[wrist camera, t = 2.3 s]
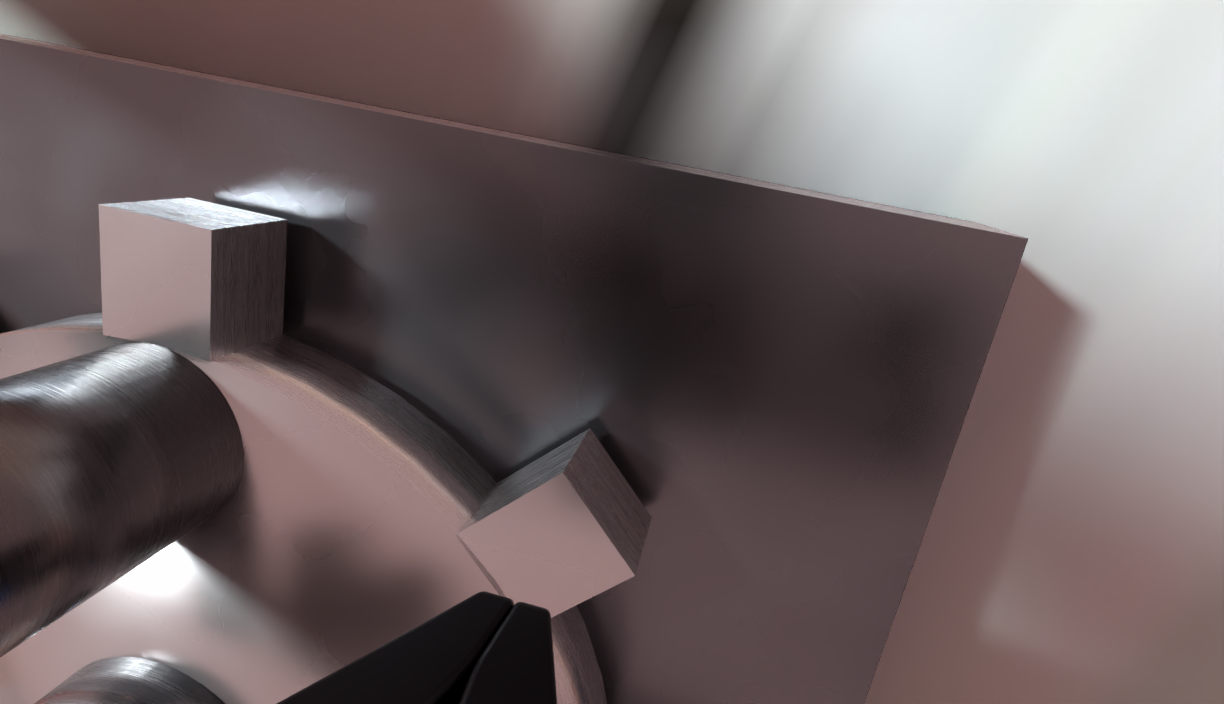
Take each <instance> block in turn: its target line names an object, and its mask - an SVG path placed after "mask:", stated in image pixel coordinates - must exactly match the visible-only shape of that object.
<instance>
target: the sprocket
mask: <svg viewBox="0 0 1224 704" xmlns="http://www.w3.org/2000/svg"><path fill="white" fill-rule="evenodd" d="M287 223H288V219H283V218H278V217H274V216H269V215H265V214H260V213H256V212H251V211H247V210H242V209H238V208H233V207H229V206H224V205H220V204H215V203H211V202H206V201H201V200H197V199H192V198H177V199H164V200H150V201H137V202H123V203H110V204H99V231H100V262H101V292H102V312H99V313H91V314H83V315H78V316H73V317H69V318H65V319H61V320H56V321H52V322H48V323H44V324H39V325H35V326H31V327H27V328H23V329H18V330H14V331H10V332H6V333H1V334H0V704H277V703H278V702H280V701H282V700H284V699H286V698H288V697H289V696H291V695H293V694H295V693H297V692H298V691H300V690H302V689H304V688H306V687H307V686H309V685H311V684H313V683H315V682H317V681H318V680H320V679H322V678H324V677H326V676H327V675H329V674H331V673H333V672H335V671H337V670H338V669H340V668H342V667H344V666H346V665H347V664H349V663H351V662H353V661H355V660H356V659H358V658H360V657H362V656H364V655H366V654H367V653H369V652H371V651H373V650H375V649H376V648H378V647H380V646H382V645H384V644H385V643H387V642H389V641H391V640H393V639H395V638H396V637H398V636H400V635H402V634H404V633H405V632H407V631H409V630H411V629H413V628H414V627H416V626H418V625H420V624H422V623H424V622H425V621H427V620H429V619H431V618H433V617H434V616H436V615H438V614H440V613H442V612H443V611H445V610H447V609H449V608H451V607H453V606H454V605H456V604H458V603H460V602H462V601H463V600H465V599H467V598H469V597H471V596H472V595H474V594H476V593H478V592H482V591H486V592H490V593H493V594H497V595H500V596H504V597H507V598H510V599H512V600H513V601H514V605H515V604H516V603H517V602H525V603H528V604H532V605H536V606H539V607H543V608H546V609H548V610H549V612H550V614H551V626H552V639H553V653H554V666H555V680H556V693H557V704H607V702H606V696H605V690H604V684H603V678H602V674H601V671H600V668H599V665H598V662H597V659H596V656H595V652H594V649H593V646H592V643H591V640H590V637H589V634H588V630H587V627H586V625H585V623H584V620H583V618H582V616H581V614H580V612H579V610H578V608H577V605H578V604H580V603H582V602H584V601H586V600H588V599H590V598H592V597H594V596H596V595H598V594H600V593H602V592H604V591H606V590H608V589H610V588H612V587H614V586H616V585H618V584H620V583H622V582H624V581H626V580H628V579H630V578H632V577H634V576H635V574H636V571H637V568H638V564H639V561H640V557H641V554H642V550H643V547H644V543H645V540H646V537H647V533H648V530H649V526H650V523H651V519H652V517H651V516H650V514H649V513H648V511H647V510H646V508H645V507H644V505H643V504H642V503H641V501H640V500H639V498H638V497H637V495H636V494H635V492H634V491H633V490H632V488H631V487H630V485H629V484H628V482H627V481H626V479H625V478H624V477H623V475H622V474H621V472H620V471H619V469H618V468H617V466H616V465H615V464H614V462H613V461H612V459H611V458H610V456H609V455H608V453H607V452H606V451H605V449H604V448H603V446H602V445H601V443H600V442H599V440H598V439H597V437H596V436H595V435H594V433H593V432H592V430H591V429H590V428H589V429H588V430H586V431H584V432H583V433H581V434H579V435H578V436H576V437H574V438H573V439H571V440H569V441H568V442H566V443H564V444H562V445H561V446H559V447H557V448H556V449H554V450H552V451H551V452H549V453H547V454H546V455H544V456H542V457H541V458H539V459H537V460H535V461H534V462H532V463H530V464H529V465H527V466H525V467H524V468H522V469H520V470H519V471H517V472H515V473H514V474H512V475H510V476H508V477H507V478H505V479H503V480H502V481H500V482H498V483H497V482H496V481H495V480H494V479H493V477H492V476H491V475H490V474H489V473H488V472H487V471H486V470H485V469H484V468H483V467H482V466H480V465H479V464H478V463H477V462H476V461H475V460H474V459H473V458H472V457H471V456H470V455H469V454H468V453H467V452H466V451H465V450H464V449H463V448H462V447H461V446H460V445H459V444H458V443H457V442H456V441H455V440H454V439H453V438H452V437H451V436H450V435H449V434H448V433H447V432H445V431H444V430H443V429H442V428H440V427H439V426H438V425H437V424H435V423H434V422H433V421H431V420H430V419H429V418H428V417H426V416H425V415H424V414H422V413H421V412H420V411H419V410H417V409H416V408H415V407H413V406H412V405H411V404H410V403H408V402H407V401H406V400H404V399H403V398H402V397H401V396H399V395H398V394H396V393H395V392H393V391H392V390H390V389H388V388H387V387H385V386H383V385H382V384H380V383H378V382H377V381H375V380H374V379H372V378H370V377H369V376H367V375H365V374H364V373H362V372H360V371H359V370H357V369H355V368H354V367H352V366H351V365H349V364H347V363H346V362H344V361H341V360H339V359H337V358H335V357H333V356H331V355H328V354H326V353H324V352H322V351H320V350H317V349H315V348H313V347H311V346H309V345H306V344H304V343H302V342H300V341H298V340H296V339H293V338H291V337H288V336H285V335H283V312H284V290H285V268H286V245H287Z"/></svg>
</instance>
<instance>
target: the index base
mask: <svg viewBox="0 0 1224 704" xmlns="http://www.w3.org/2000/svg"><path fill="white" fill-rule="evenodd" d="M177 198H192V199H197V200H201V201H206V202H211V203H215V204H220V205H224V206H229V207H233V208H238V209H242V210H247V211H251V212H256V213H260V214H265V215H269V216H274V217H278V218H283V219H288V223H287V245H286V268H285V290H284V312H283V335H285V336H288V337H291V338H293V339H296V340H298V341H300V342H302V343H304V344H306V345H309V346H311V347H313V348H315V349H317V350H320V351H322V352H324V353H326V354H328V355H331V356H333V357H335V358H337V359H339V360H341V361H344V362H346V363H347V364H349V365H351V366H352V367H354V368H355V369H357V370H359V371H360V372H362V373H364V374H365V375H367V376H369V377H370V378H372V379H374V380H375V381H377V382H378V383H380V384H382V385H383V386H385V387H387V388H388V389H390V390H392V391H393V392H395V393H396V394H398V395H399V396H401V397H402V398H403V399H404V400H406V401H407V402H408V403H410V404H411V405H412V406H413V407H415V408H416V409H417V410H419V411H420V412H421V413H422V414H424V415H425V416H426V417H428V418H429V419H430V420H431V421H433V422H434V423H435V424H437V425H438V426H439V427H440V428H442V429H443V430H444V431H445V432H447V433H448V434H449V435H450V436H451V437H452V438H453V439H454V440H455V441H456V442H457V443H458V444H459V445H460V446H461V447H462V448H463V449H464V450H465V451H466V452H467V453H468V454H469V455H470V456H471V457H472V458H473V459H474V460H475V461H476V462H477V463H478V464H479V465H480V466H482V467H483V468H484V469H485V470H486V471H487V472H488V473H489V474H490V475H491V476H492V477H493V479H494V480H495V481H496V482H497V483H498V482H500V481H502V480H503V479H505V478H507V477H508V476H510V475H512V474H514V473H515V472H517V471H519V470H520V469H522V468H524V467H525V466H527V465H529V464H530V463H532V462H534V461H535V460H537V459H539V458H541V457H542V456H544V455H546V454H547V453H549V452H551V451H552V450H554V449H556V448H557V447H559V446H561V445H562V444H564V443H566V442H568V441H569V440H571V439H573V438H574V437H576V436H578V435H579V434H581V433H583V432H584V431H586V430H588V429H589V428H590V429H591V430H592V432H593V433H594V435H595V436H596V437H597V439H598V440H599V442H600V443H601V445H602V446H603V448H604V449H605V451H606V452H607V453H608V455H609V456H610V458H611V459H612V461H613V462H614V464H615V465H616V466H617V468H618V469H619V471H620V472H621V474H622V475H623V477H624V478H625V479H626V481H627V482H628V484H629V485H630V487H631V488H632V490H633V491H634V492H635V494H636V495H637V497H638V498H639V500H640V501H641V503H642V504H643V505H644V507H645V508H646V510H647V511H648V513H649V514H650V516H651V517H652V519H651V523H650V526H649V530H648V533H647V537H646V540H645V543H644V547H643V550H642V554H641V557H640V561H639V564H638V568H637V571H636V574H635V576H634V577H632V578H630V579H628V580H626V581H624V582H622V583H620V584H618V585H616V586H614V587H612V588H610V589H608V590H606V591H604V592H602V593H600V594H598V595H596V596H594V597H592V598H590V599H588V600H586V601H584V602H582V603H580V604H578V605H577V608H578V610H579V612H580V614H581V616H582V618H583V620H584V623H585V625H586V627H587V630H588V634H589V637H590V640H591V643H592V646H593V649H594V652H595V656H596V659H597V662H598V665H599V668H600V671H601V674H602V678H603V684H604V690H605V696H606V702H607V704H864V702H865V699H866V696H867V693H868V690H869V688H870V685H871V682H872V679H873V676H874V673H875V671H876V668H877V665H878V662H879V659H880V657H881V654H882V651H883V648H884V645H885V642H886V640H887V637H888V634H889V631H890V628H891V625H892V623H893V620H894V617H895V614H896V611H897V608H898V606H899V603H900V600H901V597H902V594H903V591H904V589H905V586H906V583H907V580H908V577H909V575H910V572H911V569H912V566H913V563H914V560H915V558H916V555H917V552H918V549H919V546H920V543H921V541H922V538H923V535H924V532H925V529H926V526H927V524H928V521H929V518H930V515H931V512H932V509H933V507H934V504H935V501H936V498H937V495H938V492H939V490H940V487H941V484H942V481H943V478H944V476H945V473H946V470H947V467H948V464H949V461H950V459H951V456H952V453H953V450H954V447H955V444H956V442H957V439H958V436H959V433H960V430H961V427H962V425H963V422H964V419H965V416H966V413H967V410H968V408H969V405H970V402H971V399H972V396H973V393H974V391H975V388H976V385H977V382H978V379H979V377H980V374H981V371H982V368H983V365H984V362H985V360H986V357H987V354H988V351H989V348H990V345H991V343H992V340H993V337H994V334H995V331H996V328H997V326H998V323H999V320H1000V317H1001V314H1002V311H1003V309H1004V306H1005V303H1006V300H1007V297H1008V295H1009V292H1010V289H1011V286H1012V283H1013V280H1014V278H1015V275H1016V272H1017V269H1018V266H1019V263H1020V261H1021V258H1022V255H1023V252H1024V249H1025V246H1026V244H1027V241H1028V239H1027V238H1024V237H1021V236H1018V235H1014V234H1011V233H1008V232H1005V231H1001V230H998V229H995V228H991V227H988V226H985V225H982V224H978V223H975V222H970V221H965V220H960V219H954V218H949V217H944V216H939V215H934V214H929V213H924V212H918V211H913V210H908V209H903V208H898V207H893V206H887V205H882V204H877V203H872V202H867V201H862V200H856V199H851V198H846V197H841V196H836V195H831V194H825V193H820V192H815V191H810V190H805V189H800V188H795V187H789V186H784V185H779V184H774V183H769V182H764V181H758V180H753V179H748V178H743V177H738V176H733V175H727V174H722V173H717V172H712V171H707V170H702V169H696V168H691V167H686V166H681V165H676V164H671V163H666V162H660V161H655V160H650V159H645V158H640V157H635V156H629V155H624V154H619V153H614V152H609V151H604V150H598V149H593V148H588V147H583V146H578V145H573V144H567V143H562V142H557V141H552V140H547V139H542V138H537V137H531V136H526V135H521V134H516V133H511V132H506V131H500V130H495V129H490V128H485V127H480V126H475V125H469V124H464V123H459V122H454V121H449V120H444V119H439V118H433V117H428V116H423V115H418V114H413V113H408V112H402V111H397V110H392V109H387V108H382V107H377V106H371V105H366V104H361V103H356V102H351V101H346V100H340V99H335V98H330V97H325V96H320V95H315V94H310V93H304V92H299V91H294V90H289V89H284V88H279V87H273V86H268V85H263V84H258V83H253V82H248V81H242V80H237V79H232V78H227V77H222V76H217V75H211V74H206V73H201V72H196V71H191V70H186V69H181V68H175V67H170V66H165V65H160V64H155V63H150V62H144V61H139V60H134V59H129V58H124V57H119V56H113V55H108V54H103V53H98V52H93V51H88V50H82V49H77V48H72V47H67V46H62V45H57V44H52V43H46V42H41V41H36V40H31V39H26V38H21V37H15V36H10V35H5V34H0V334H1V333H6V332H10V331H14V330H18V329H23V328H27V327H31V326H35V325H39V324H44V323H48V322H52V321H56V320H61V319H65V318H69V317H73V316H78V315H83V314H91V313H99V312H102V292H101V262H100V231H99V204H110V203H123V202H137V201H150V200H164V199H177Z"/></svg>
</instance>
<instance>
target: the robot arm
mask: <svg viewBox="0 0 1224 704" xmlns="http://www.w3.org/2000/svg"><path fill="white" fill-rule="evenodd" d="M277 704H557V693H556V680H555V666H554V653H553V639H552V626H551V614H550V612H549V610H548V609H546V608H543V607H539V606H536V605H532V604H528V603H525V602H517V603H516V604H515V605H514V601H513V600H512V599H510V598H507V597H504V596H500V595H497V594H493V593H490V592H486V591H482V592H478V593H476V594H474V595H472V596H471V597H469V598H467V599H465V600H463V601H462V602H460V603H458V604H456V605H454V606H453V607H451V608H449V609H447V610H445V611H443V612H442V613H440V614H438V615H436V616H434V617H433V618H431V619H429V620H427V621H425V622H424V623H422V624H420V625H418V626H416V627H414V628H413V629H411V630H409V631H407V632H405V633H404V634H402V635H400V636H398V637H396V638H395V639H393V640H391V641H389V642H387V643H385V644H384V645H382V646H380V647H378V648H376V649H375V650H373V651H371V652H369V653H367V654H366V655H364V656H362V657H360V658H358V659H356V660H355V661H353V662H351V663H349V664H347V665H346V666H344V667H342V668H340V669H338V670H337V671H335V672H333V673H331V674H329V675H327V676H326V677H324V678H322V679H320V680H318V681H317V682H315V683H313V684H311V685H309V686H307V687H306V688H304V689H302V690H300V691H298V692H297V693H295V694H293V695H291V696H289V697H288V698H286V699H284V700H282V701H280V702H278V703H277Z"/></svg>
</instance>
